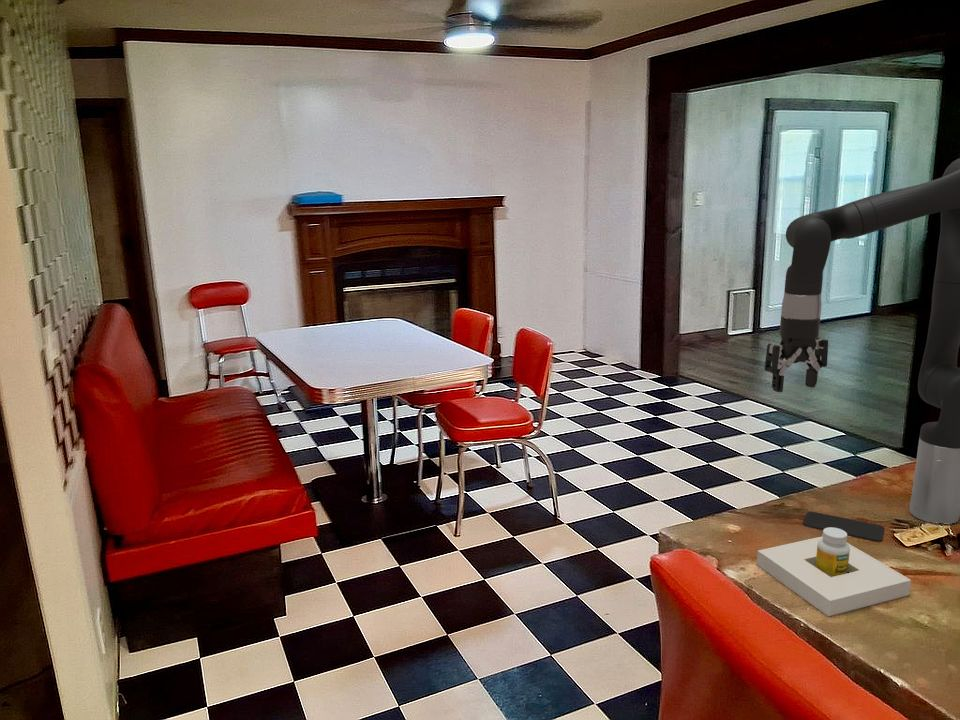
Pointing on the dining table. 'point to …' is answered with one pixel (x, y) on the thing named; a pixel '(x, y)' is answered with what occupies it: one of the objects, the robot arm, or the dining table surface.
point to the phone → (845, 526)
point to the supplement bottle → (833, 552)
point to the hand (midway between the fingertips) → (793, 389)
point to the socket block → (833, 593)
